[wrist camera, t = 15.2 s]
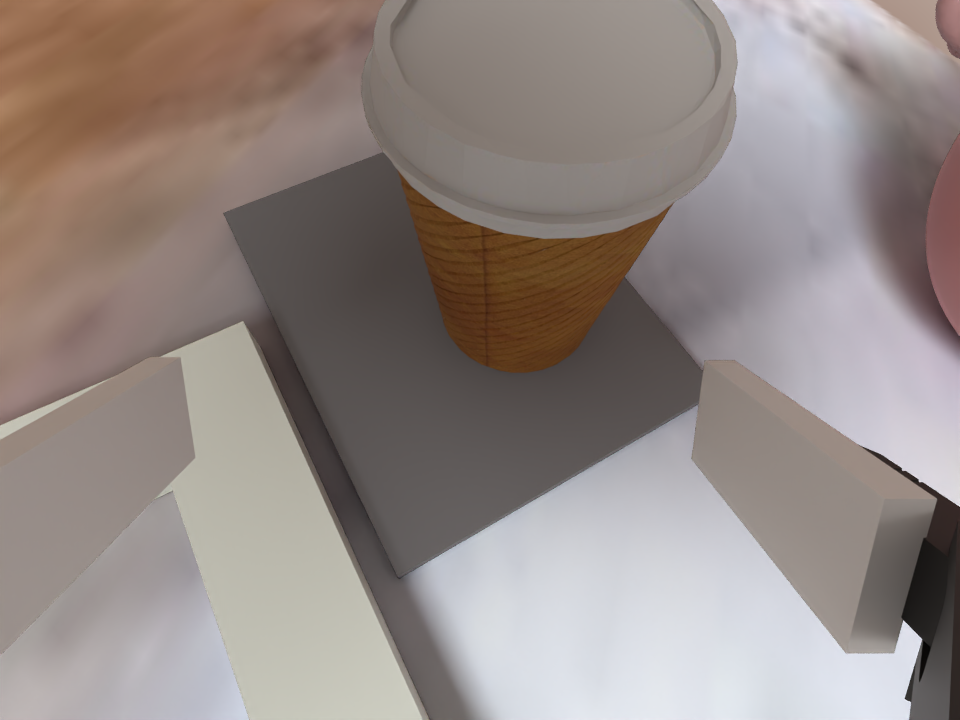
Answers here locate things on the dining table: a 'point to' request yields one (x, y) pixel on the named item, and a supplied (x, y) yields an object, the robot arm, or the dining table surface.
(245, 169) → the dining table surface
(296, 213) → the rubber mat
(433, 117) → the disposable coffee cup
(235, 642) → the holder board
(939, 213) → the balloon
